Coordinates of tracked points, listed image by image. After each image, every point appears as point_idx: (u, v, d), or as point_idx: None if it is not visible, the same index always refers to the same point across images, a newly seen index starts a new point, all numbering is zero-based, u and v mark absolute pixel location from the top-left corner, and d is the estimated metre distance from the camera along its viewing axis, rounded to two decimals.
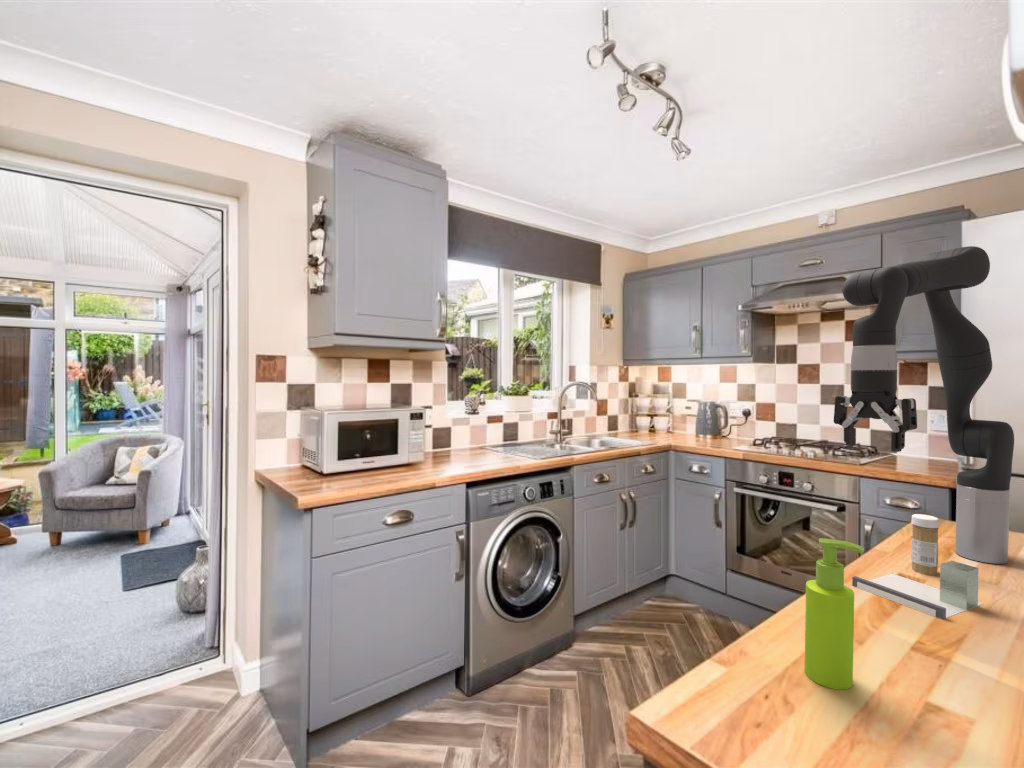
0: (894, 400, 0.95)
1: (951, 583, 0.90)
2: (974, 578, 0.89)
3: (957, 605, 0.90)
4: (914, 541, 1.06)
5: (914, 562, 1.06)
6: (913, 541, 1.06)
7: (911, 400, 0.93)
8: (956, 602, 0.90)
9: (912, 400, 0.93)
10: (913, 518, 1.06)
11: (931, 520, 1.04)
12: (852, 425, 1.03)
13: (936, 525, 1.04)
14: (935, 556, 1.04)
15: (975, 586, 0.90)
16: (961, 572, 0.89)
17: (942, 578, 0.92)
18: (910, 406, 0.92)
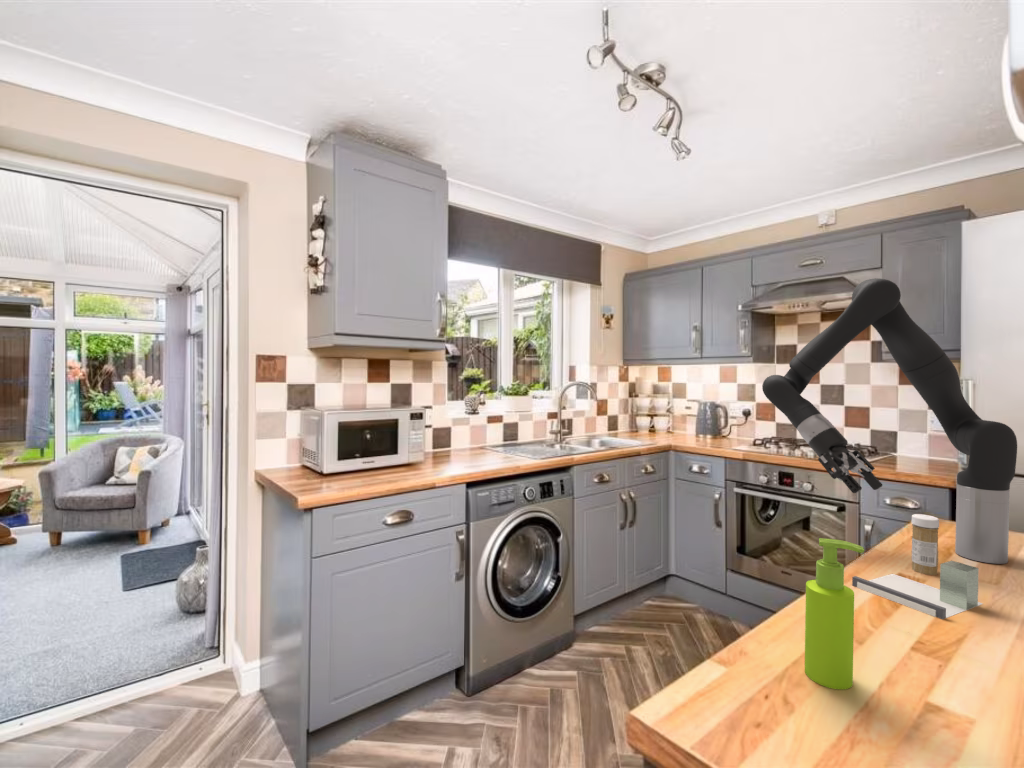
0: None
1: (951, 583, 0.90)
2: (974, 578, 0.89)
3: (957, 605, 0.90)
4: (914, 541, 1.06)
5: (914, 562, 1.06)
6: (913, 541, 1.06)
7: (821, 457, 1.19)
8: (956, 602, 0.90)
9: (822, 456, 1.19)
10: (913, 518, 1.06)
11: (931, 520, 1.04)
12: (865, 472, 1.20)
13: (936, 525, 1.04)
14: (935, 556, 1.04)
15: (975, 586, 0.90)
16: (961, 572, 0.89)
17: (942, 578, 0.92)
18: (822, 462, 1.19)
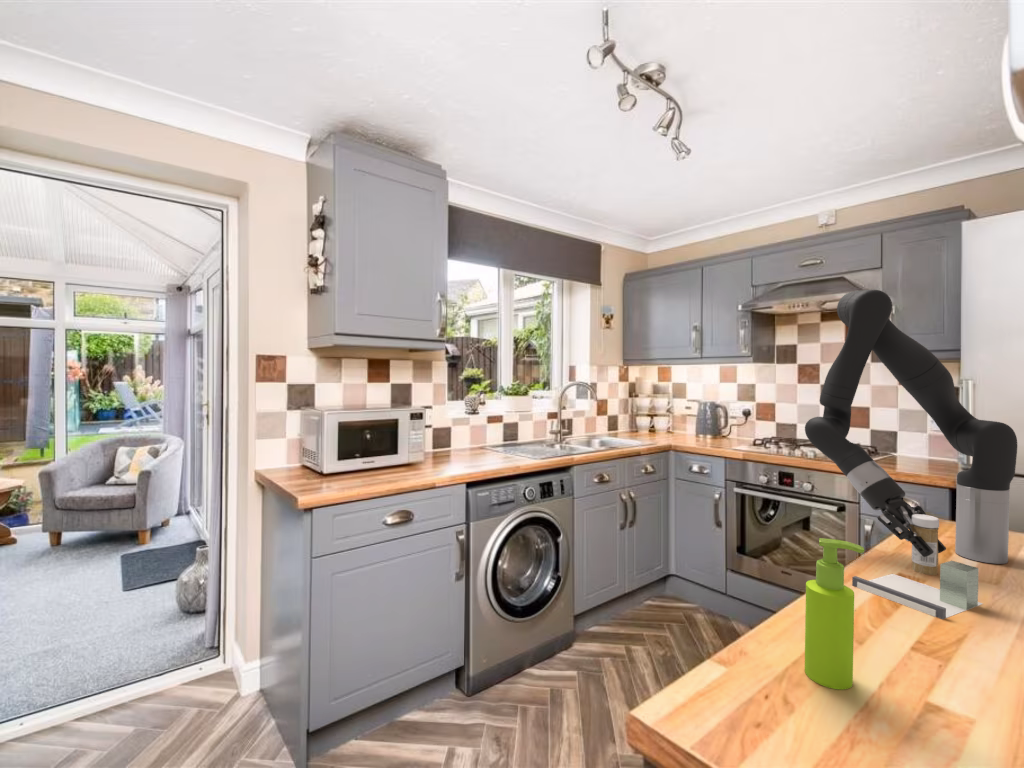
0: None
1: (951, 583, 0.90)
2: (974, 578, 0.89)
3: (957, 605, 0.90)
4: None
5: (914, 562, 1.06)
6: None
7: (882, 516, 1.07)
8: (956, 602, 0.90)
9: (883, 516, 1.07)
10: (913, 518, 1.06)
11: (931, 520, 1.04)
12: None
13: (936, 525, 1.04)
14: (935, 556, 1.04)
15: (975, 586, 0.90)
16: (961, 572, 0.89)
17: (942, 578, 0.92)
18: (884, 522, 1.07)
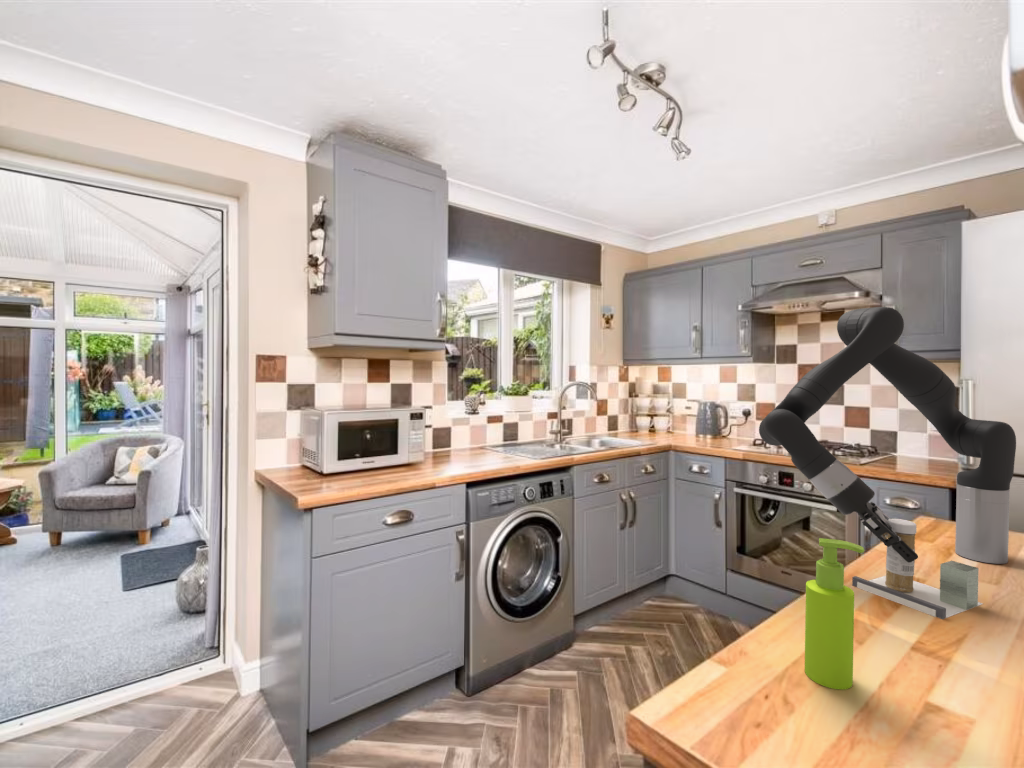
0: (865, 518, 0.97)
1: (951, 583, 0.90)
2: (974, 578, 0.89)
3: (957, 605, 0.90)
4: (894, 550, 0.96)
5: (894, 572, 0.96)
6: (892, 550, 0.96)
7: (869, 521, 0.94)
8: (956, 602, 0.90)
9: (870, 520, 0.94)
10: (893, 524, 0.96)
11: (913, 525, 0.95)
12: None
13: None
14: None
15: (975, 586, 0.90)
16: (961, 572, 0.89)
17: (942, 578, 0.92)
18: (871, 527, 0.94)
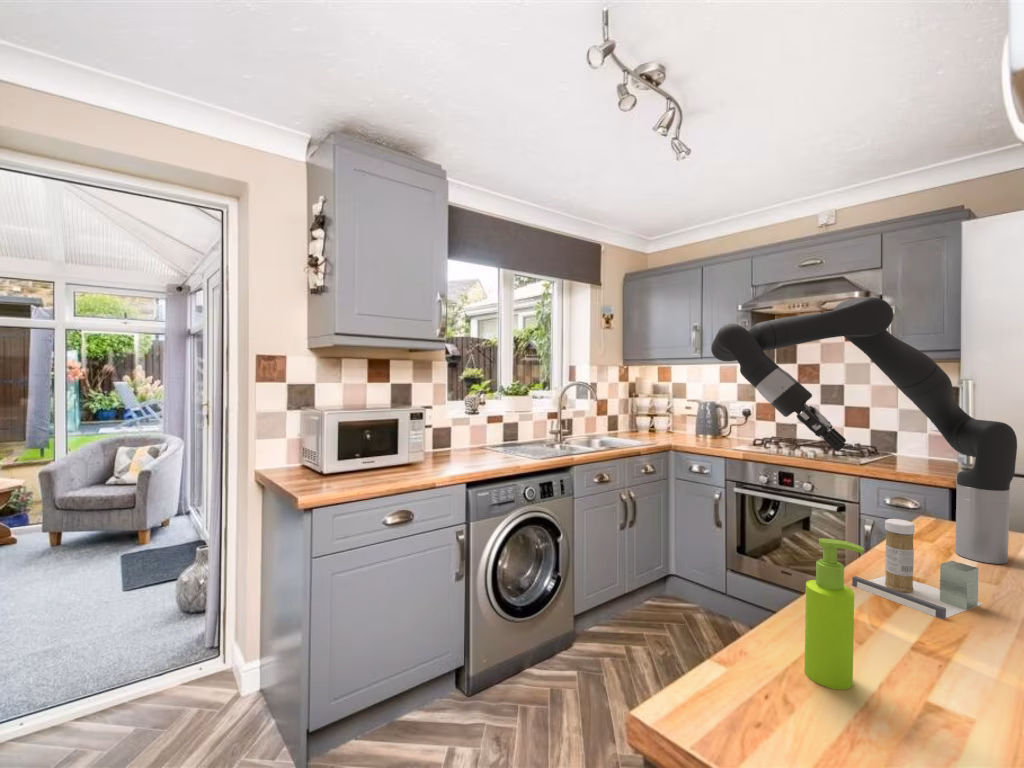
0: None
1: (951, 583, 0.90)
2: (974, 578, 0.89)
3: (957, 605, 0.90)
4: (893, 550, 0.96)
5: (893, 573, 0.96)
6: (891, 550, 0.96)
7: (801, 413, 1.04)
8: (956, 602, 0.90)
9: (802, 412, 1.04)
10: (891, 525, 0.96)
11: (911, 525, 0.95)
12: (827, 428, 1.11)
13: None
14: (913, 564, 0.96)
15: (975, 586, 0.90)
16: (961, 572, 0.89)
17: (942, 578, 0.92)
18: (803, 419, 1.04)
